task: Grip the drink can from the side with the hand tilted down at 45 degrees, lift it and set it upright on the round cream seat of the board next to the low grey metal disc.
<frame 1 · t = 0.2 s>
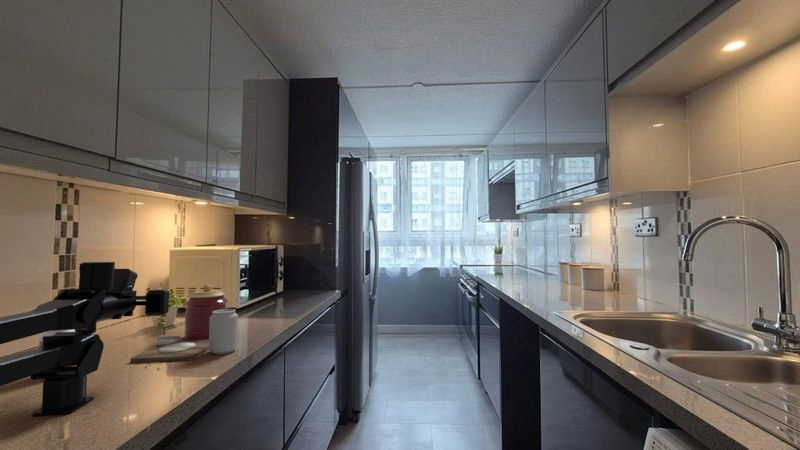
hand: (146, 299, 94), 17 cm above the countertop, tool horizontal, fingers open, 9 cm apart
can: (223, 352, 103), on the countertop
canister: (206, 336, 120), on the countertop
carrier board: (177, 352, 102), on the countertop
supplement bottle: (56, 374, 86), on the countertop
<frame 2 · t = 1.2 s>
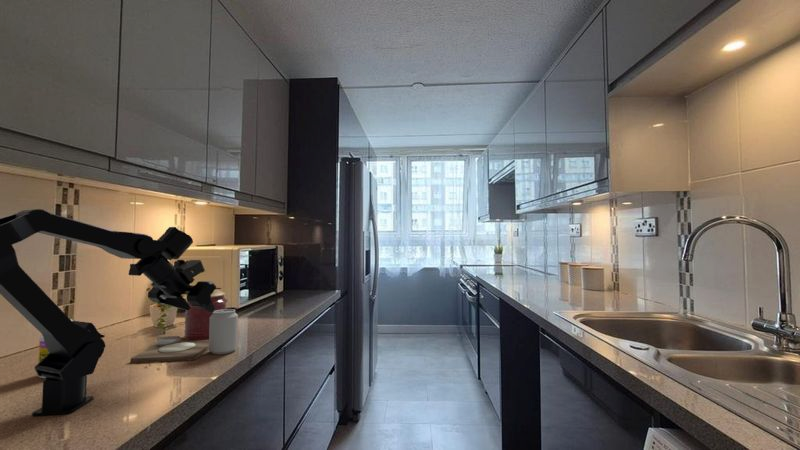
hand: (201, 310, 97), 13 cm above the countertop, tool tilted 45°, fingers open, 9 cm apart
nothing on the countertop moved.
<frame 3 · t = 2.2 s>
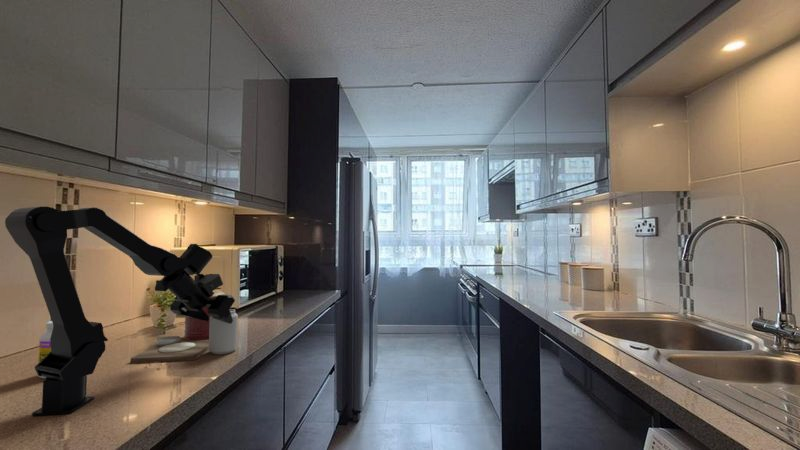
hand: (219, 321, 102), 9 cm above the countertop, tool tilted 45°, fingers open, 9 cm apart
nothing on the countertop moved.
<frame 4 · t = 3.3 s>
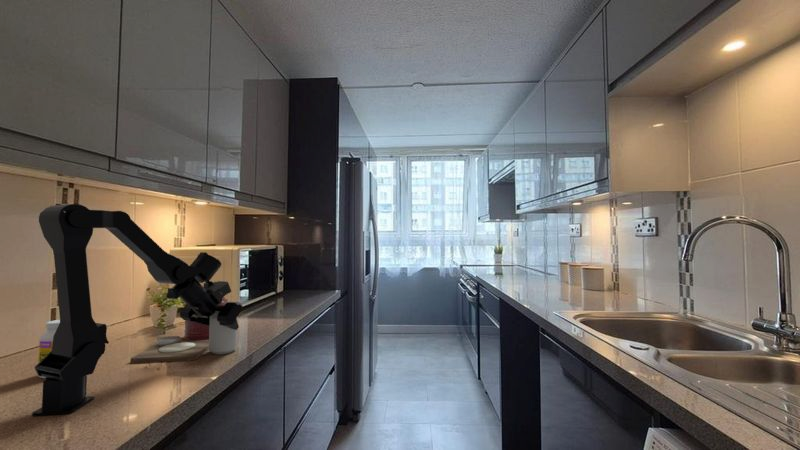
hand: (227, 327, 105), 7 cm above the countertop, tool tilted 45°, fingers closed on can, 7 cm apart
can: (223, 351, 103), on the countertop, touching gripper
everything else where it was.
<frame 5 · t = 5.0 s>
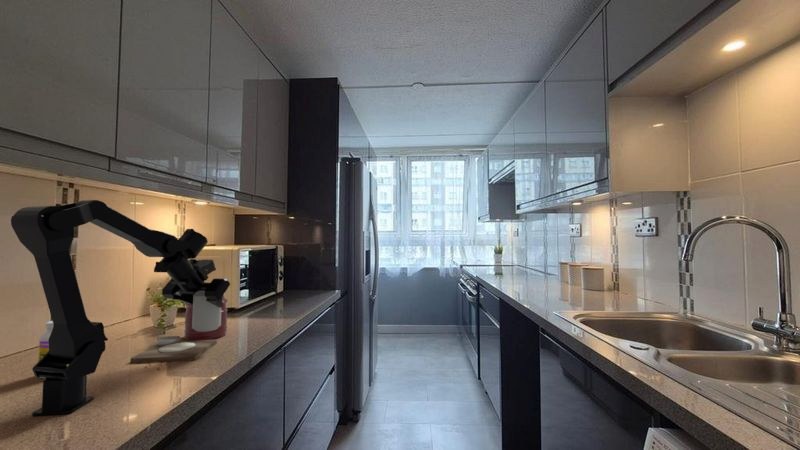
hand: (210, 305, 105), 13 cm above the countertop, tool tilted 45°, fingers closed on can, 7 cm apart
can: (206, 330, 104), point 6 cm above the countertop, touching gripper
everything else where it was.
when the fingers open (9 cm above the countertop, at t = 6.8 s): can stays where it is, resting on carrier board.
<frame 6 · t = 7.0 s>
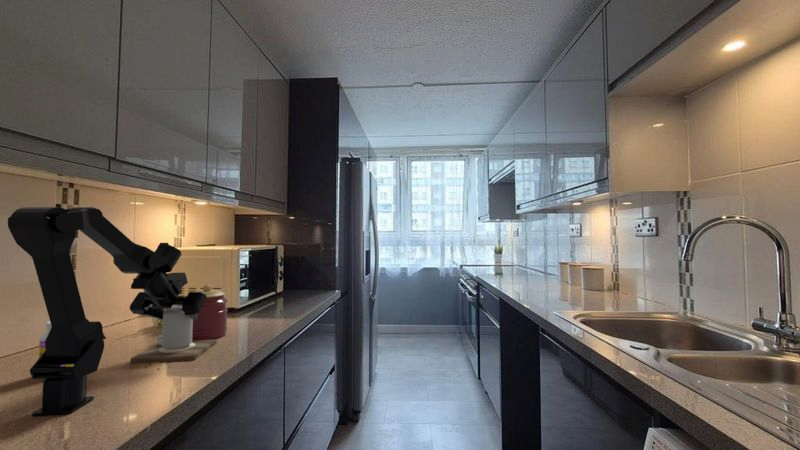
hand: (181, 318, 104), 9 cm above the countertop, tool tilted 45°, fingers open, 9 cm apart
can: (177, 347, 102), point 1 cm above the countertop, touching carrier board
everything else where it was.
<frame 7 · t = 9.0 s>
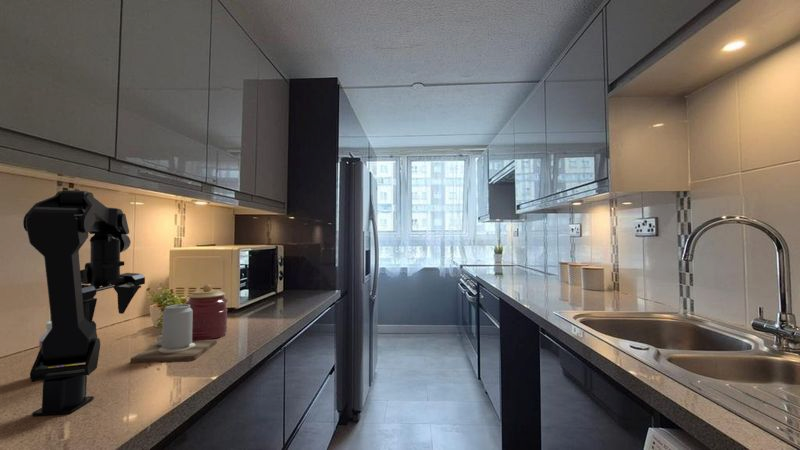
hand: (105, 319, 89), 13 cm above the countertop, tool pointing down, fingers open, 9 cm apart
nothing on the countertop moved.
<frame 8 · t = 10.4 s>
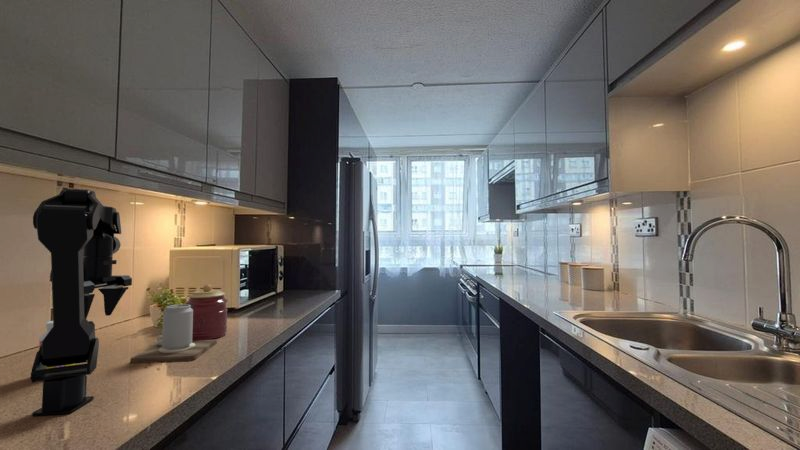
hand: (95, 319, 87), 13 cm above the countertop, tool pointing down, fingers open, 9 cm apart
nothing on the countertop moved.
at the end: can 0.1 cm off-centre on the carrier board, point 1.4 cm above the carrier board's base; can tilted 0°; the gripper is holding nothing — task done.
